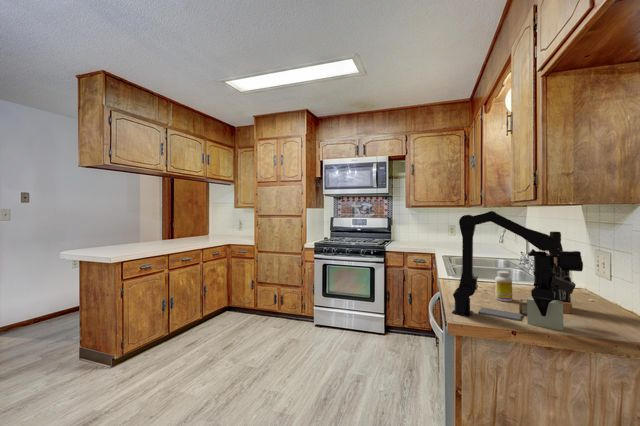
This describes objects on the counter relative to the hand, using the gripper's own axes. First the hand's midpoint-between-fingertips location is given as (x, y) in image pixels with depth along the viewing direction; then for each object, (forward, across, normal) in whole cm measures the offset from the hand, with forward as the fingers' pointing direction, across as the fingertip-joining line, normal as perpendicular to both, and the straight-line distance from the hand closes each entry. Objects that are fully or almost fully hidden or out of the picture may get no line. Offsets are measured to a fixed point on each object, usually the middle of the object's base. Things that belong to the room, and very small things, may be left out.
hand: (544, 312), depth 106 cm
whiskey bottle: (+5, +25, -3) cm, 26 cm away
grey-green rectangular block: (+5, 0, 0) cm, 5 cm away
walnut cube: (+5, +10, +6) cm, 12 cm away
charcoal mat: (+4, +3, +14) cm, 15 cm away
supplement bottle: (+5, +26, +16) cm, 31 cm away
